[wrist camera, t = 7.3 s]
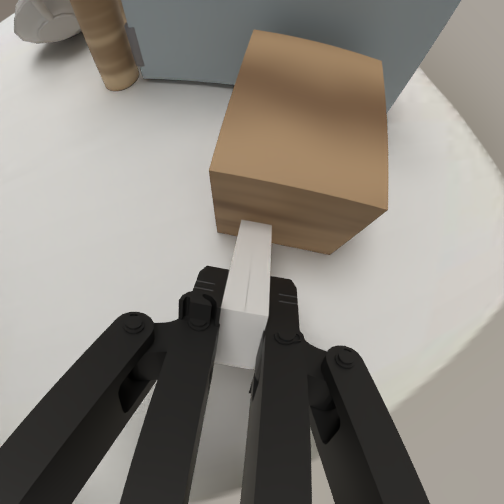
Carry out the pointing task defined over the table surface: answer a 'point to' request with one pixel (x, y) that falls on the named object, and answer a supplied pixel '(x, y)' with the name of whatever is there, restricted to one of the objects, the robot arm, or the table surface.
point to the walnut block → (302, 144)
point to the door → (282, 22)
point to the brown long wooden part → (107, 40)
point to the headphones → (45, 21)
